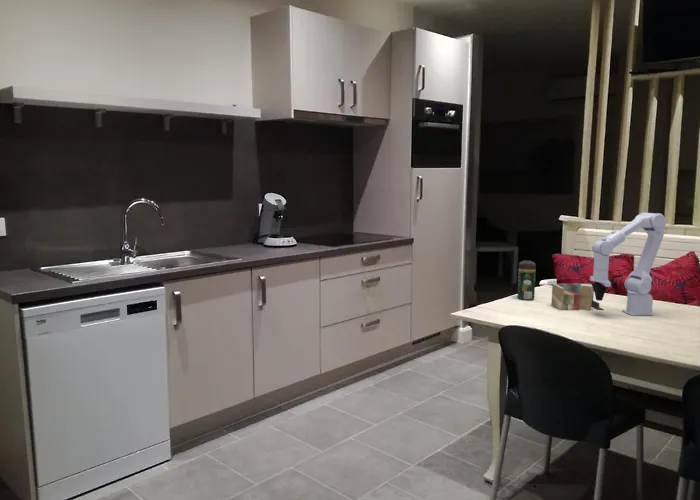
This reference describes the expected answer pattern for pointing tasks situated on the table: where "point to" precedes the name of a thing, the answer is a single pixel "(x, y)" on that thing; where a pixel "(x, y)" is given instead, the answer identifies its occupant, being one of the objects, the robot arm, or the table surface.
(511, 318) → the table surface
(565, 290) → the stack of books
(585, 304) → the box
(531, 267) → the coffee jar
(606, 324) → the table surface
